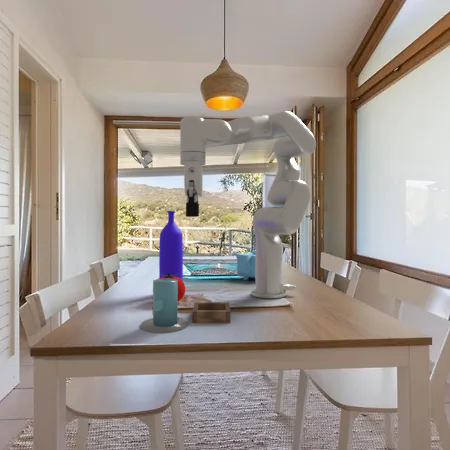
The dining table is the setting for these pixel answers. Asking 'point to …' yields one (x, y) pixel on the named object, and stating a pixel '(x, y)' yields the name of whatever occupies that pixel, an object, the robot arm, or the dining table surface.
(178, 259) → the bottle
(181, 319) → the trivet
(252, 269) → the light blue cushion
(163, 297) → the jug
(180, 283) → the tomato
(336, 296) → the dining table surface
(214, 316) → the cradle
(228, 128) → the robot arm
